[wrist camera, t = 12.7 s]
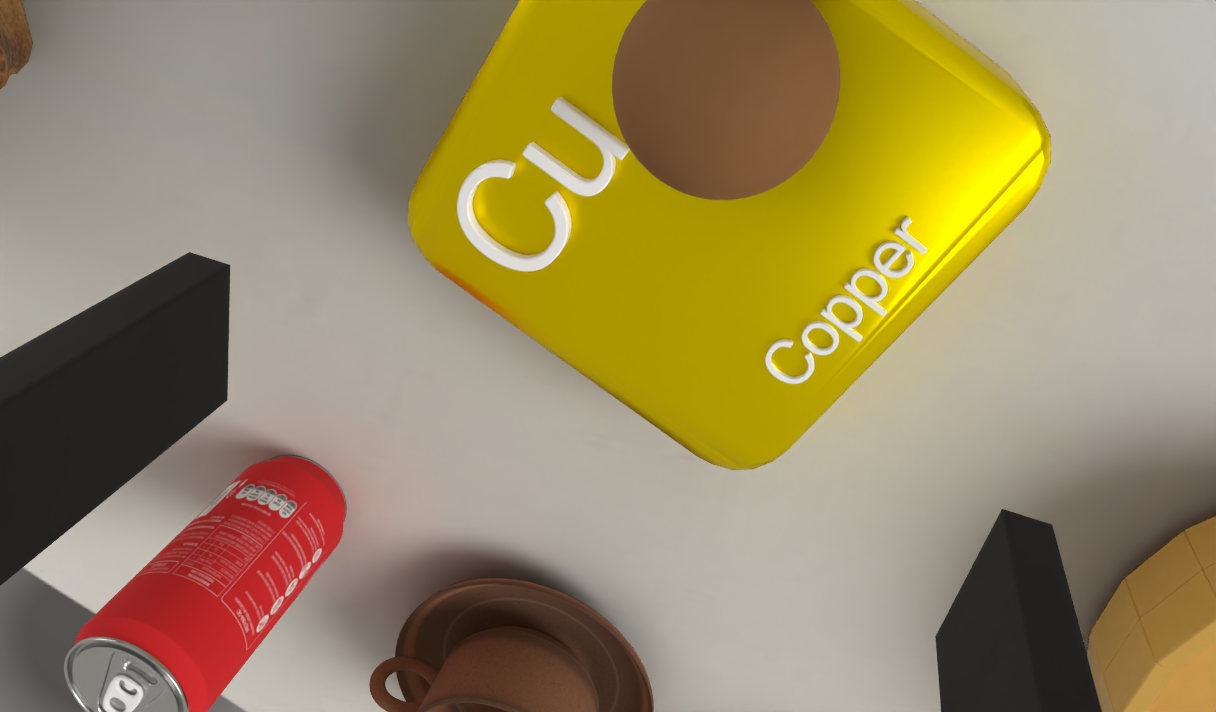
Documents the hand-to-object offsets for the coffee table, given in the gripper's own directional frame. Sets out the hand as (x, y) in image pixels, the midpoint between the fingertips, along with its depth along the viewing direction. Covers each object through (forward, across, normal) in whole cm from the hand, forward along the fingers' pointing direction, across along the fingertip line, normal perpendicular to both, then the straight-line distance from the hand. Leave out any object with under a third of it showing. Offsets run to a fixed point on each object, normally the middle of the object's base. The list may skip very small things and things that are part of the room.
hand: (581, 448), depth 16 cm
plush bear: (+11, 0, +1) cm, 11 cm away
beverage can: (+19, -14, -20) cm, 31 cm away
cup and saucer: (+19, -2, -25) cm, 32 cm away
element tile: (+19, 0, 0) cm, 19 cm away
